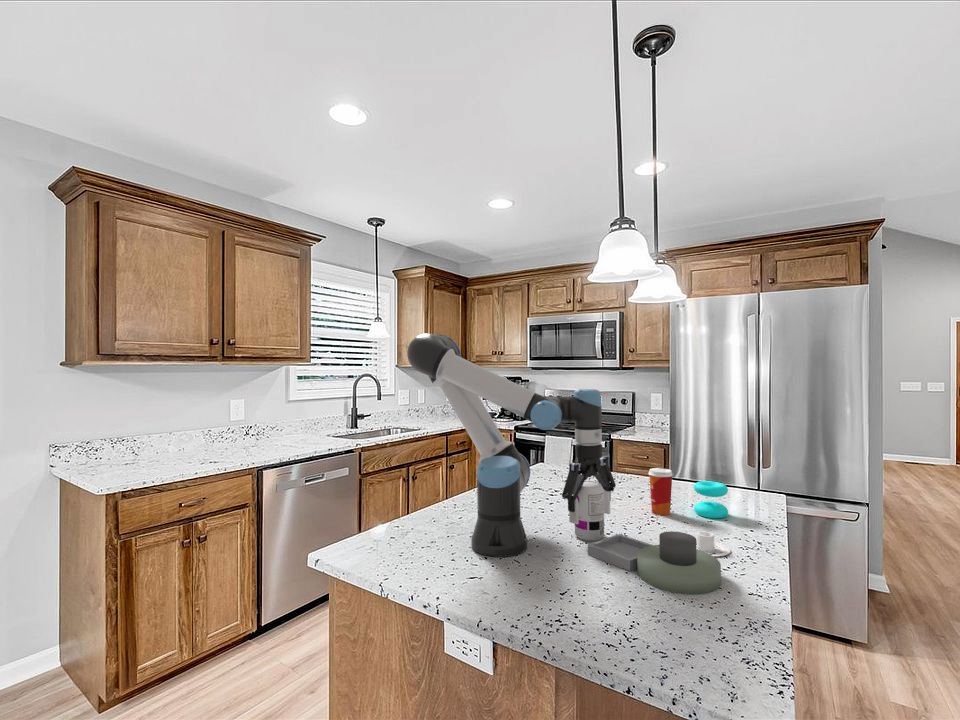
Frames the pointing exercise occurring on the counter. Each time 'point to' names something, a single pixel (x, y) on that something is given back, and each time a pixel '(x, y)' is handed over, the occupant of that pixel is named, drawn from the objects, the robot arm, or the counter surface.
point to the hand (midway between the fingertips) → (590, 518)
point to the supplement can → (590, 511)
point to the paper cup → (660, 490)
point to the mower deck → (663, 561)
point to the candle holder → (709, 543)
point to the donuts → (709, 507)
